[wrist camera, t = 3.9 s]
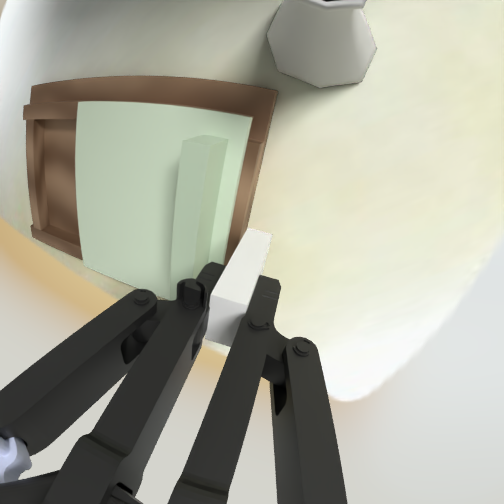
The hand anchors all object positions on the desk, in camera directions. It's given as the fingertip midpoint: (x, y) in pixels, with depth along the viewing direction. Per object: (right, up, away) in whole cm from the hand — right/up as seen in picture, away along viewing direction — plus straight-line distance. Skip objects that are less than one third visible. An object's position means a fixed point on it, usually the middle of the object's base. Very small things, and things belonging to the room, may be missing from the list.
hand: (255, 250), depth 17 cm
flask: (+4, +14, -3) cm, 15 cm away
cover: (-8, +3, +2) cm, 9 cm away
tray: (-12, +7, +4) cm, 15 cm away
